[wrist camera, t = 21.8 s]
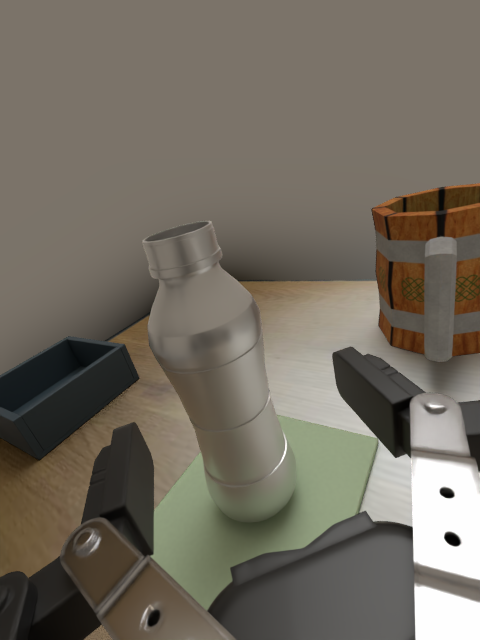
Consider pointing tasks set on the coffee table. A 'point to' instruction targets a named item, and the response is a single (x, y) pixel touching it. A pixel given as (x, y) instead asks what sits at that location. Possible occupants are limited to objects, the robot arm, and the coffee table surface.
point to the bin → (61, 391)
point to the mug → (430, 271)
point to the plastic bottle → (219, 372)
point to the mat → (269, 535)
